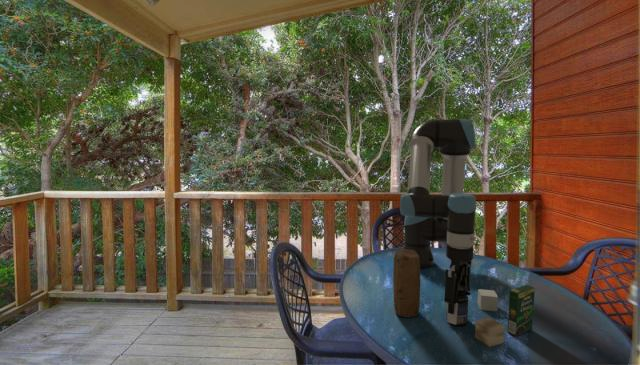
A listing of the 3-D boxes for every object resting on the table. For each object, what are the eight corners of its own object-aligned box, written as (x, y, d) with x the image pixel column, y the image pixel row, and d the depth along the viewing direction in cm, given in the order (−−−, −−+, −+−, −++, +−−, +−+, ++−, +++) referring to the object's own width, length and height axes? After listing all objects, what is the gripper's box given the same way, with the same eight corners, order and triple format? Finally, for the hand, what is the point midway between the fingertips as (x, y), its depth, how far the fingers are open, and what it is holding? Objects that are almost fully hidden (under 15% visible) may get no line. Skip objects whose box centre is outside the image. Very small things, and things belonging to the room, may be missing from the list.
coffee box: (515, 337, 96) (518, 293, 95) (506, 332, 99) (509, 289, 97) (533, 330, 100) (536, 287, 99) (523, 325, 103) (526, 283, 101)
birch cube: (475, 337, 97) (475, 320, 96) (488, 333, 99) (489, 317, 98) (489, 347, 92) (490, 329, 92) (503, 343, 94) (504, 326, 93)
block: (420, 319, 106) (422, 257, 104) (396, 318, 107) (397, 256, 105) (413, 303, 117) (414, 246, 115) (391, 302, 118) (392, 246, 115)
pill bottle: (470, 321, 105) (471, 286, 104) (463, 329, 101) (464, 293, 100) (450, 314, 110) (451, 281, 108) (442, 321, 105) (444, 287, 104)
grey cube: (477, 303, 117) (478, 289, 117) (493, 304, 116) (494, 290, 116) (480, 309, 113) (481, 295, 112) (497, 311, 111) (498, 297, 111)
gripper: (459, 255, 93) (455, 336, 96) (484, 241, 107) (480, 311, 109) (433, 249, 98) (430, 326, 101) (460, 236, 112) (457, 304, 115)
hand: (456, 318), depth 105 cm, fingers closed on pill bottle, 6 cm apart
